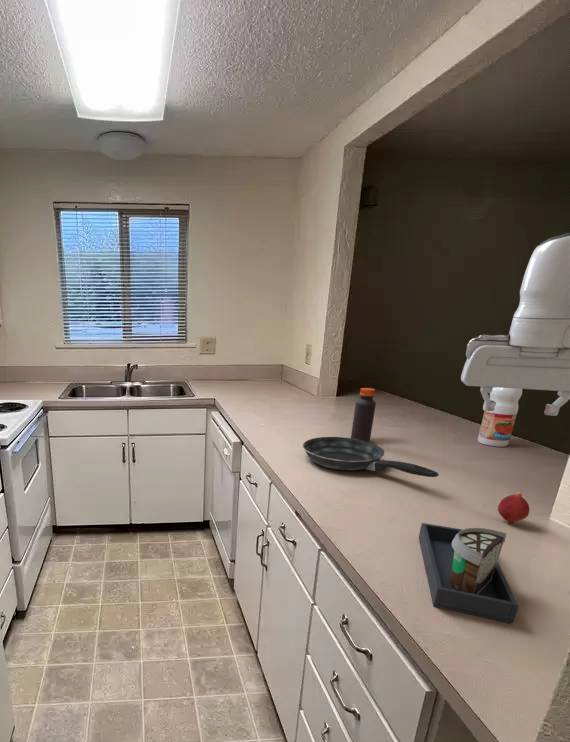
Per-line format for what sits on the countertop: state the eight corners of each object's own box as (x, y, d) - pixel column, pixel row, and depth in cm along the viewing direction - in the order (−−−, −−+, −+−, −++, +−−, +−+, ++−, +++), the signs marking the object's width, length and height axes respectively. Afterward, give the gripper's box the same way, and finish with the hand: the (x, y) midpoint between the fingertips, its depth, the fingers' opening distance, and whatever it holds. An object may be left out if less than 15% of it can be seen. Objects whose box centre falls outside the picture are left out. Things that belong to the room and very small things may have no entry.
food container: (458, 563, 88) (469, 520, 84) (493, 578, 83) (507, 532, 80) (430, 587, 81) (442, 540, 77) (467, 604, 76) (481, 555, 73)
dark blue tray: (479, 547, 94) (483, 532, 93) (513, 624, 72) (519, 605, 71) (418, 537, 99) (421, 522, 97) (433, 606, 77) (437, 588, 75)
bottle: (354, 444, 162) (362, 391, 155) (347, 438, 168) (354, 387, 161) (372, 444, 161) (381, 390, 154) (365, 438, 168) (373, 387, 161)
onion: (499, 526, 103) (508, 495, 100) (491, 515, 108) (499, 486, 105) (529, 529, 101) (538, 498, 98) (518, 518, 106) (527, 488, 104)
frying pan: (285, 456, 150) (287, 438, 147) (337, 445, 160) (340, 427, 158) (400, 506, 113) (405, 483, 111) (458, 487, 124) (463, 465, 121)
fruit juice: (487, 438, 166) (506, 364, 156) (514, 445, 158) (536, 367, 148) (471, 441, 163) (489, 366, 153) (497, 448, 155) (518, 369, 145)
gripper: (473, 335, 77) (456, 411, 82) (625, 338, 69) (596, 422, 74) (466, 333, 82) (450, 404, 87) (606, 335, 74) (580, 413, 79)
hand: (518, 412), depth 80 cm, fingers open, 8 cm apart
